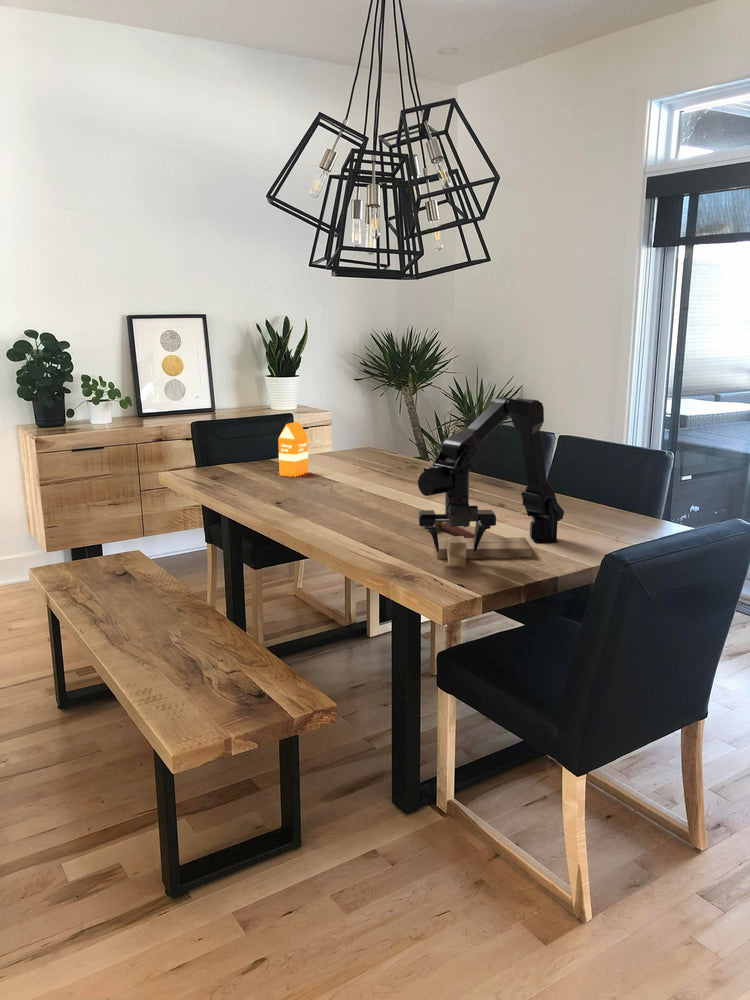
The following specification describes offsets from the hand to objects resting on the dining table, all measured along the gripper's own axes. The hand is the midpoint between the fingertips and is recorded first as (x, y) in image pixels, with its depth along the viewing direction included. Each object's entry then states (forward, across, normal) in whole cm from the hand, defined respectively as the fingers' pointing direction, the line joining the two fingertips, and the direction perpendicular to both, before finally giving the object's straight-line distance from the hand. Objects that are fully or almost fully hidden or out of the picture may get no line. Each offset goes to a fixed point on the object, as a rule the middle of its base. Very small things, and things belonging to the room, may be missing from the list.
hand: (456, 551), depth 201 cm
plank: (+3, +8, +8) cm, 12 cm away
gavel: (+4, +2, +26) cm, 26 cm away
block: (+3, 0, +3) cm, 4 cm away
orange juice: (+3, -51, +116) cm, 127 cm away
